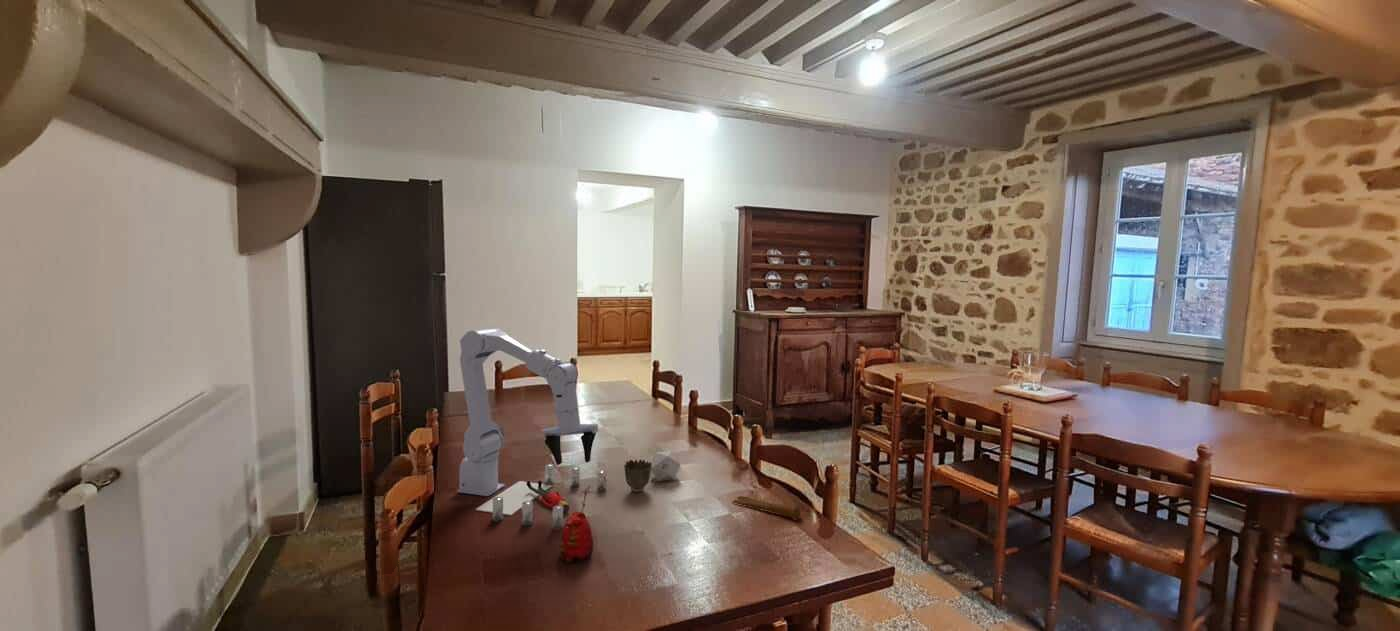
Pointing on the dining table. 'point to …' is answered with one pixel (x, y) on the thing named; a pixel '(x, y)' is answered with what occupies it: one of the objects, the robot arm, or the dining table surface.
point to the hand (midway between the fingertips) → (573, 462)
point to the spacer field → (557, 510)
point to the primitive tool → (769, 507)
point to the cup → (637, 475)
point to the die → (665, 465)
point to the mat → (514, 498)
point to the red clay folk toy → (576, 537)
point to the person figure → (549, 497)
